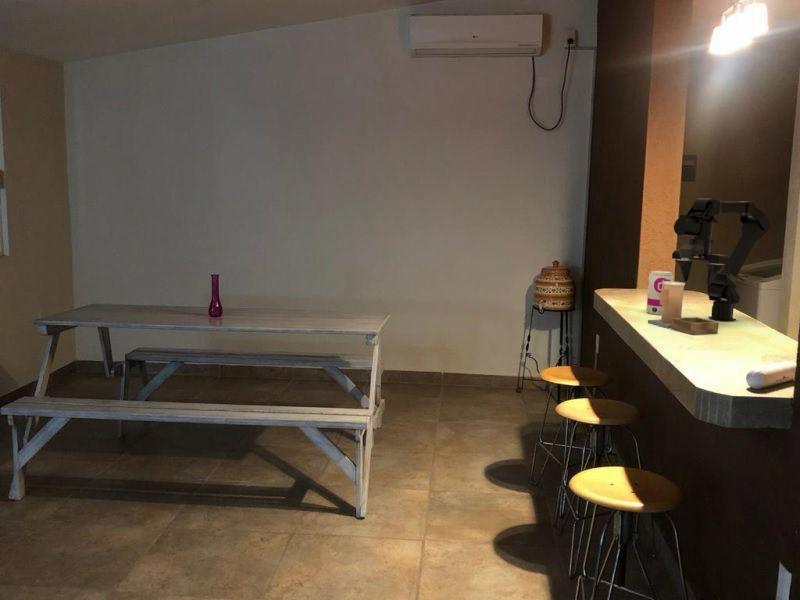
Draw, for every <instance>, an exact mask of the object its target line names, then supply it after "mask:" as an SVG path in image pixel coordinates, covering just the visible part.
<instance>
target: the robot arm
mask: <svg viewBox="0 0 800 600" xmlns="http://www.w3.org/2000/svg"><path fill="white" fill-rule="evenodd" d="M722 213H723V214H725V213H729V214H730V213H733V214H734V213H737V214H739V215H738V220H739V222H740V224H741V226H740V235H741V237H740V238H739V240H738V241H737V244H736V245H735V247H734V249H733V251H732V252H731V254H730V256H728V254H727V255H725V254H718V253H717V254H714V253H713V252H712V251H711V244H714V239H712V235H713V226H714V224H718V222H719V221H718V220H717V219H716V218H715V216H718V215H720V214H722ZM748 214H749V216H748ZM770 229H771V222H770V220H769V217H767V216H766V214H765V212H763V211H762V210H761V209H760V208H758V207H757V205H756V204H755V203H754V202H753V201H750V200H748V201H747V200H741V201H721V200H720V199H717V198H705V197H704V198H703V197H702V198H701V197H699V198H696V199H695V201H694V202H693V204H692V206H691V207H690V208H689V210H688V211H687V212H686V214H681V213H680V214H679V217H678V219H676V220H675V222H674V223H673V231H674V233H675V234H676V235H677V236H689V237H690V236H691V237H692V238H689V241H688V243H686V244H684V245H682V246H680V247H678V250H673V252H672V253H671V259H674V261H675V262H676V263H677V264H678V265H679V267H680V270H681V272H682V273H681V274H682V277H683V281H684V282H688V280H689V277H690V274H691V268H692V264H693V260H698V261H707V262H708V263H706V266H707V277H706V279H707V280H706V282H707V283H706V284H707V286H706V289H707V294H708V300H709V301H712V306H711V315H710V316H708V318H709V319H710V320H716V321H720V322H727V321H728V322H729V321H730V322H731V321H737V318H734V317H733V316H734V310H735V309H734V308H735V304H739V302H740V300H741V296H740V295H739V293H738V292H737V291H736V289H737V285H738V284H737V277H738V274H739V273H740V271H741V269H742V267H743V266H744V264H745V262H746V260H747V258H748V257H749V255H750V253H751V251H752V250H753V248H754V246H755V244H756V243H757V242H759V241H760V240H762V239H763V238H764V237H765V235H767V233H768V232H769V231H770ZM721 269H722V270H721ZM720 270H721V271H720Z"/></svg>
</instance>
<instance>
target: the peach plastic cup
mask: <svg viewBox="0 0 800 600" xmlns="http://www.w3.org/2000/svg"><path fill="white" fill-rule="evenodd" d="M663 284H664V289H661V295H660V305H663V306H662V315H661V322H664V323H671V319H672V318H682V312H683V299H684V289H685V286H686V283H685V282H681V281H675V280H673V281H664V283H663Z"/></svg>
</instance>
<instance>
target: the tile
mask: <svg viewBox="0 0 800 600" xmlns="http://www.w3.org/2000/svg"><path fill="white" fill-rule="evenodd" d="M647 323H648V324H650V325H654V326H657V325H658V327H661V328H665V329H671V323H664V322H661V319H648V320H647Z"/></svg>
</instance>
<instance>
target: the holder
mask: <svg viewBox="0 0 800 600" xmlns="http://www.w3.org/2000/svg"><path fill="white" fill-rule="evenodd" d="M672 329H673V331H676V332H680V333H684V334H687V335H691V336H695V335H698V336H699V335H717V334H718V333H719V322H718V321H714V320H712V319H706V318H701V317H697V316H695V317H694V316H693V317H692V316H691V317H681V318H672V319H671V328H670V330H672Z"/></svg>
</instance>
